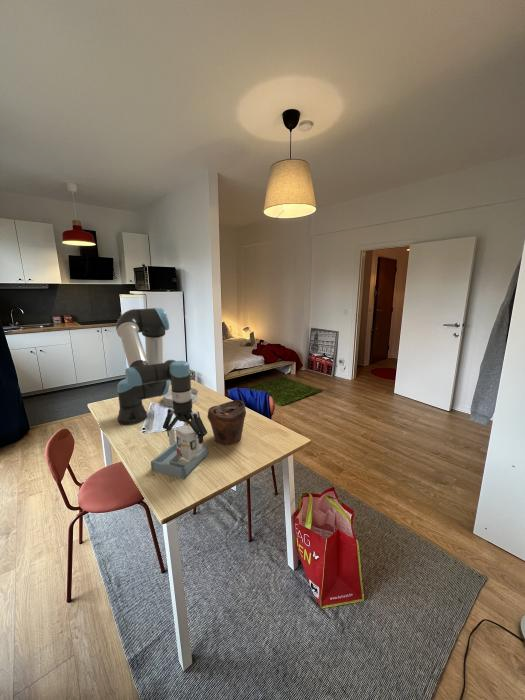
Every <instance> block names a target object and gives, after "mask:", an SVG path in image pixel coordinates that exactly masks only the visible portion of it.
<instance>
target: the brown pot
mask: <svg viewBox="0 0 525 700" xmlns="http://www.w3.org/2000/svg"><path fill="white" fill-rule="evenodd" d="M246 415H247V411H246V405H245V402H244V401H242V400H240V399H235V400H234V399H233V400H231V401H227V402H225V403H221V404H219V405H214V406H211V407H209V408H208V411H207V419H208V421H209V423H210V426H211V431H212V432H213V436H214V441H215V442H216V443H217V444H220V445H223V446H224V445H233V444H235V443H238V442H239V441H240V440H241V438H242V436H243V432H244V431H243V430H244V429H243V428H244V423H245V419H246Z"/></svg>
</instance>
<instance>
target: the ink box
mask: <svg viewBox="0 0 525 700" xmlns="http://www.w3.org/2000/svg"><path fill="white" fill-rule="evenodd" d="M196 437H197V434H196V433H195V432H194V430H193V429H192V428H191V426H190V425H188V424H187V425H186V424H185V425H182V426H180V427H178V428H176V429H175V442H177V454H178V455H180V456H181V457H183V458H185V459H186V460H188V461H190V460H192V459H194V458H196V457H198V451H197V441H196Z"/></svg>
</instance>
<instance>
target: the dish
mask: <svg viewBox="0 0 525 700" xmlns="http://www.w3.org/2000/svg"><path fill="white" fill-rule="evenodd" d="M191 393H192V398H191V399H192V405H193V404H196V403H197V402H198V401H199V392H198V389H196V388H193V387H191ZM163 404H164V405H165V406H167V407H170V408H171V407H173V399H172V389H169V390H168V393H167V394H166V395H163Z"/></svg>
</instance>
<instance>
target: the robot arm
mask: <svg viewBox="0 0 525 700" xmlns="http://www.w3.org/2000/svg"><path fill="white" fill-rule="evenodd" d="M115 329H116V335H118V337H119V338H120V339H121V343H122V345H123V350H124V354H125V359H126V362H127V365H128V367H127V368H126V369H125V370H124V371H125V373H124V374H125V378H124V379H121V380H120V381H119V382H118V383H117V385H116V388H117V390H116V391H117V396H118V403H119V404H118V405H119V410H118V415H117V423H118V424H120V425H123V426H124V425H127V426H128V425H129V426H130V425H136V424H139V423H142V422H143V421H144V420H146V419H147V416H148V415H147V410H146V409H145V406H144V405H143V400H147V399H152V398H153V399H154V398H158V397H162V396H164V395H166V394H167V393H168V391H169V390H170V389H169V388H170V387H171V390H172V399H173V407H170V408H169V409H167V411H166V412H167V414H166V416H165V418H164V422H163V424H162V429H164V430H166V432H167V437H168V441H169V443H168V444H169V446H171V445H172V444H174V443H175V442H176V434H175V429H174V428H173V427H174V426H175V425H176V424H177V422H178V421H179V422H183V423H186V424H187V425H188V426H189V427H190V428H192V429H193V430H194V432H195V433H196V434H197V437H196V441H197V451H198V452H199V451H200V450H201V449H202V445H203V443H204V437H205V436H206V435H207V434H208V430H207V429H206V426H205V424H204V422H203V421H202V420H203V419H202V418H201V415H200V412H199V411H196V412H193V404H192V399H191V398H192V393H191V388H192V385H191V384H192V382H191V369H190V363H189V362H188V361H185V360H175V359H168V360H166V361H163V360H164V359H163V355H164V354H163V351H164V349H163V348H164V347H163V345H164V344H163V337H165V335H166V331H168V330H169V329H170V322H169V317H168V314H167V312H166V310H165V309H163V308H162V307H158V308H157V307H152V308H134V309H128V310H126V311H125V312H124V313H122V314H121V315H120V316H119V318H118V319H117V322H116V325H115ZM139 333H141V335H142V336H143V337H144V339H145V341H144V342H145V350H144V347H143V344H142V341H141V338H140V334H139ZM173 415H174V418H173ZM172 418H173V419H172Z"/></svg>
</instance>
